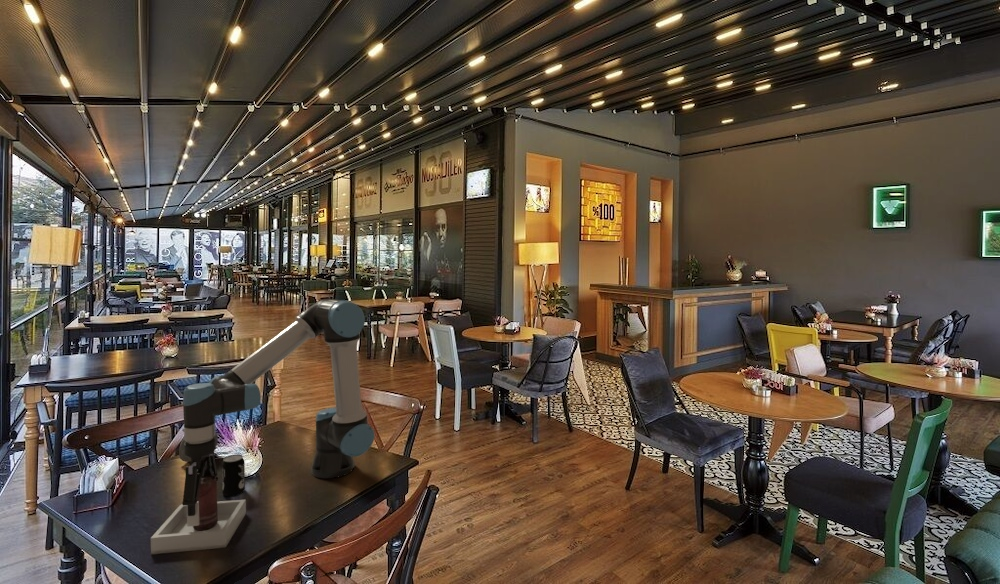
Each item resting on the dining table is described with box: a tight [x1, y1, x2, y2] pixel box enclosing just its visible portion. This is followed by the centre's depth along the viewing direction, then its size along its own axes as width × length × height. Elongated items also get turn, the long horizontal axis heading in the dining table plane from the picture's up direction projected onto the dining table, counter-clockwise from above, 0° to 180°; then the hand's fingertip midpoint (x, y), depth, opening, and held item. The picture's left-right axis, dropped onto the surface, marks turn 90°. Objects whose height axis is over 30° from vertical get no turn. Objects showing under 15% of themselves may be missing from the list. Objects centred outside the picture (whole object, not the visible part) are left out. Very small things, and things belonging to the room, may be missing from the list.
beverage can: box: [221, 453, 246, 498], centre depth 163 cm, size 7×7×12 cm
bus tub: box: [150, 499, 247, 555], centre depth 139 cm, size 18×18×4 cm
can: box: [193, 475, 218, 531], centre depth 141 cm, size 6×6×14 cm
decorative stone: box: [178, 431, 219, 463], centre depth 190 cm, size 15×10×15 cm
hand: (201, 514), depth 139 cm, fingers open, 11 cm apart
